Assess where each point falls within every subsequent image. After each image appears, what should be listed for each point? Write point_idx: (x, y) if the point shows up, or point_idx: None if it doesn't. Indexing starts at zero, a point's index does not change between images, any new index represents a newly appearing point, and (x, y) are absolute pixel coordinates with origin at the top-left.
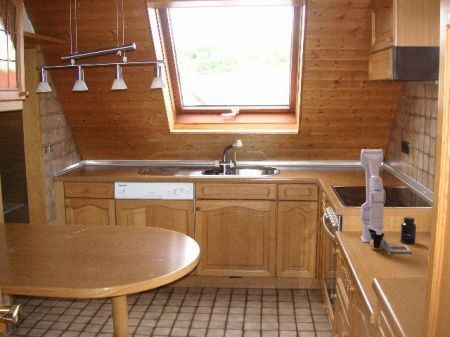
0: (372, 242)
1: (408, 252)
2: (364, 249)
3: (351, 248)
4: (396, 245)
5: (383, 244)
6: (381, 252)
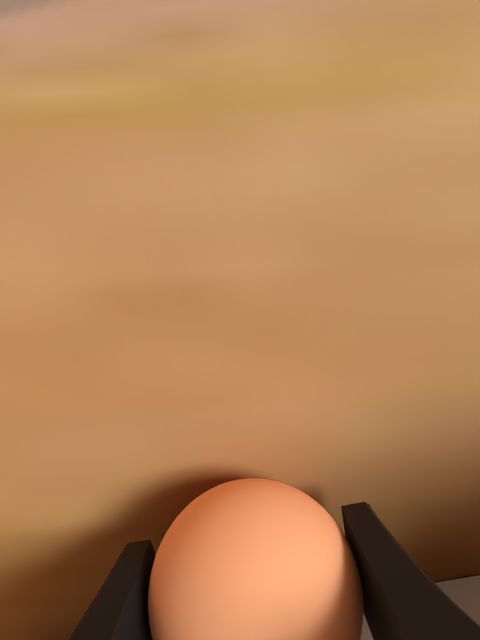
0: (172, 587)
1: None
2: (194, 360)
3: (185, 113)
4: None
5: None
6: None
